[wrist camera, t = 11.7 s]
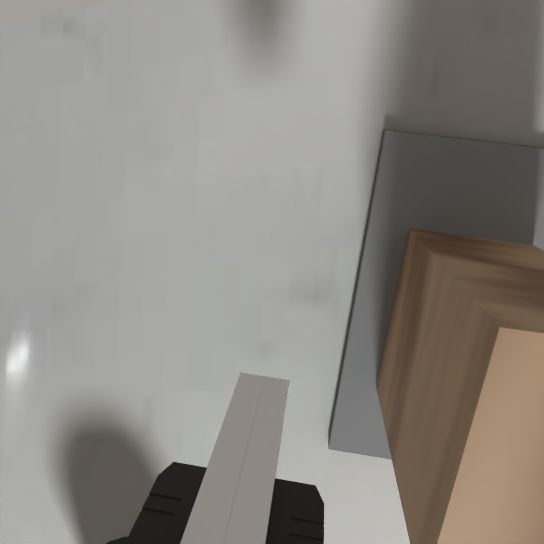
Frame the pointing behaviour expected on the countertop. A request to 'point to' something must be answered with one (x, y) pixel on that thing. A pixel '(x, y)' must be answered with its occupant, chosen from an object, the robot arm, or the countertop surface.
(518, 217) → the mat
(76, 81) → the countertop surface
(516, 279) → the walnut block
